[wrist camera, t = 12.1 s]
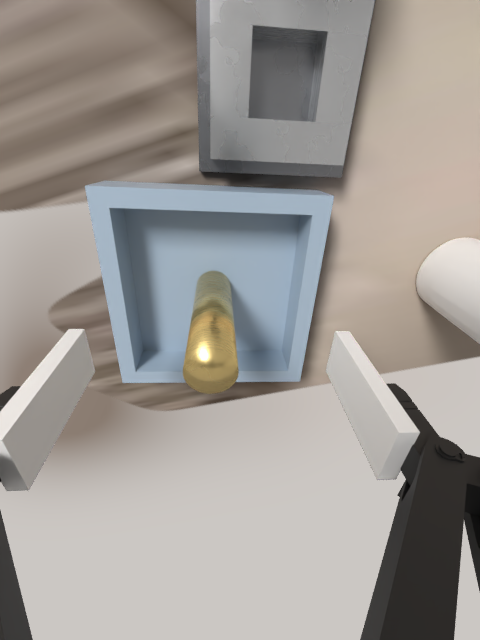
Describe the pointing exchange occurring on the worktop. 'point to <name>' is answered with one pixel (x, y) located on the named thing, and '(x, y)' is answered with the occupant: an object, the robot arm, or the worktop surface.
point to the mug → (454, 283)
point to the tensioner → (278, 83)
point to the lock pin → (211, 337)
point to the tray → (209, 255)
